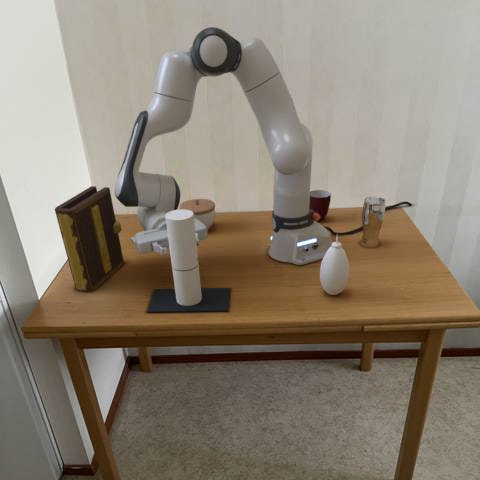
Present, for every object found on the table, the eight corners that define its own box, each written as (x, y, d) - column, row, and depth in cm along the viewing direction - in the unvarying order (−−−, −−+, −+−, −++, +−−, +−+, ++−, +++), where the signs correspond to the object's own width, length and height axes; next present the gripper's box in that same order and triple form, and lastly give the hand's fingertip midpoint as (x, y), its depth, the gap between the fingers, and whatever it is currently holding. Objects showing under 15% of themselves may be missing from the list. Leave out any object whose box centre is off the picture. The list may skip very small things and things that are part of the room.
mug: (300, 224, 178) (301, 198, 173) (300, 216, 185) (300, 190, 179) (330, 224, 177) (331, 197, 172) (328, 215, 184) (329, 189, 178)
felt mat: (230, 289, 142) (230, 287, 142) (227, 311, 132) (227, 310, 132) (155, 290, 143) (154, 288, 143) (147, 312, 133) (147, 311, 133)
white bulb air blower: (314, 289, 140) (317, 230, 130) (339, 284, 142) (344, 226, 132) (325, 302, 134) (329, 242, 124) (351, 297, 135) (358, 237, 125)
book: (94, 293, 143) (75, 212, 129) (70, 289, 146) (48, 209, 132) (131, 259, 160) (117, 184, 146) (108, 256, 163) (93, 182, 149)
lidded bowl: (203, 238, 172) (200, 208, 165) (175, 231, 177) (171, 202, 171) (223, 225, 180) (221, 196, 174) (195, 219, 186) (193, 191, 180)
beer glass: (357, 246, 161) (361, 203, 153) (361, 238, 167) (365, 195, 158) (378, 249, 159) (384, 205, 151) (382, 240, 164) (387, 197, 156)
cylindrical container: (203, 292, 140) (195, 209, 126) (199, 306, 134) (190, 220, 120) (179, 292, 141) (168, 209, 127) (174, 305, 135) (162, 220, 121)
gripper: (127, 226, 136) (141, 245, 126) (195, 212, 143) (214, 228, 133) (130, 247, 140) (145, 267, 129) (197, 232, 147) (215, 249, 136)
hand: (180, 247), depth 131 cm, fingers open, 8 cm apart
